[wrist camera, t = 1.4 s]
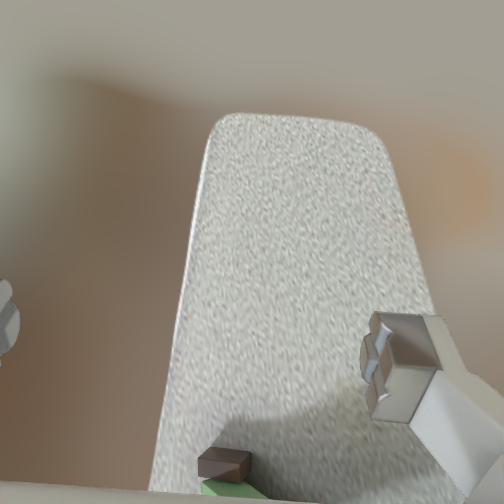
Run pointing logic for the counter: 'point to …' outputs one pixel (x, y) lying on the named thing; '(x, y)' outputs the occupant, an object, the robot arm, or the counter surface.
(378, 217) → the counter surface
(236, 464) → the stand
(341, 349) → the counter surface
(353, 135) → the counter surface
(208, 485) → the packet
